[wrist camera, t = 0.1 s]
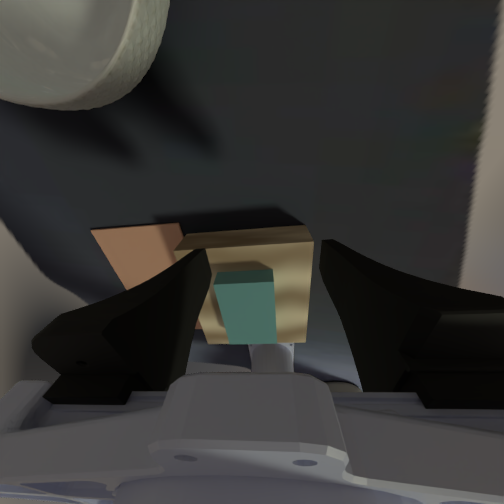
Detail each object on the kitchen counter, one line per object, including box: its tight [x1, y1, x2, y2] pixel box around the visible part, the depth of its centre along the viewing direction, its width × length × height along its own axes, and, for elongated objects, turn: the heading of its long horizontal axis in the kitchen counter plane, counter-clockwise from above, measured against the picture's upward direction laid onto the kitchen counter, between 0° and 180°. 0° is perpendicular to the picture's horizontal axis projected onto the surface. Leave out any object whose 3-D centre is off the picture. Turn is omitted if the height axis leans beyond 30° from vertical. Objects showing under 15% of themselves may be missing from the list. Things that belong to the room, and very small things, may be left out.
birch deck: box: [173, 225, 314, 344], centre depth 24 cm, size 16×14×4 cm
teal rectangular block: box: [213, 269, 277, 344], centre depth 21 cm, size 10×6×2 cm, turn 6°
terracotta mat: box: [91, 223, 202, 329], centre depth 27 cm, size 19×11×1 cm, turn 6°
